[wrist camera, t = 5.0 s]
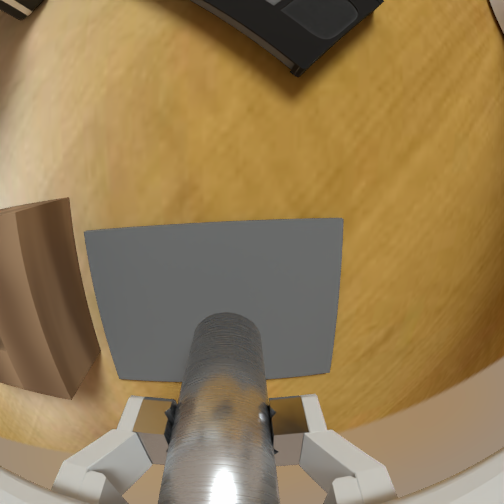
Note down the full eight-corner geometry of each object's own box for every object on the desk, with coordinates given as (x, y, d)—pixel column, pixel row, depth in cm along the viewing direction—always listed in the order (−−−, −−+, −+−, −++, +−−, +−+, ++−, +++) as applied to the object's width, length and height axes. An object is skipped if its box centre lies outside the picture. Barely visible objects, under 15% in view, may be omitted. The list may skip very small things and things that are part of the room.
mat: (340, 218, 15) (343, 219, 15) (328, 368, 18) (329, 372, 18) (87, 230, 15) (83, 232, 14) (121, 375, 18) (119, 378, 17)
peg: (260, 310, 12) (294, 566, 3) (261, 366, 13) (283, 579, 4) (189, 313, 12) (127, 556, 3) (197, 367, 13) (168, 576, 4)
